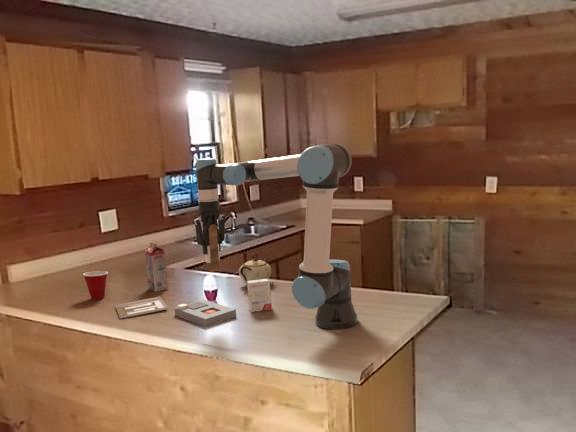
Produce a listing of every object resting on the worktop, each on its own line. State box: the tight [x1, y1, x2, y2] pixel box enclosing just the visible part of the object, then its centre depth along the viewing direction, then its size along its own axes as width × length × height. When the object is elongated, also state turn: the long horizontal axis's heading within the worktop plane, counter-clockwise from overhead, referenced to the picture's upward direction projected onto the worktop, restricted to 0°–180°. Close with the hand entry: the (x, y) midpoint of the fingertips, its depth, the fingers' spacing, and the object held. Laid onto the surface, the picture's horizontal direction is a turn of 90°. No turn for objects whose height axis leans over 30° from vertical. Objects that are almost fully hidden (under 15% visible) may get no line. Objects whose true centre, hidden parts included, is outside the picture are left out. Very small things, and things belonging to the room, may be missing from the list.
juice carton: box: [144, 242, 169, 293], centre depth 267 cm, size 7×7×22 cm
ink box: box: [246, 278, 273, 313], centre depth 227 cm, size 9×5×12 cm, turn 103°
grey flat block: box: [174, 299, 237, 328], centre depth 223 cm, size 22×14×4 cm, turn 42°
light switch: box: [115, 296, 168, 320], centre depth 238 cm, size 18×2×19 cm
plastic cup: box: [82, 270, 109, 301], centre depth 259 cm, size 11×11×12 cm
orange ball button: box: [205, 310, 216, 314], centre depth 220 cm, size 4×4×1 cm
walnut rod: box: [205, 224, 220, 273], centre depth 215 cm, size 3×3×18 cm
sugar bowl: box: [238, 252, 272, 286], centre depth 263 cm, size 20×15×15 cm
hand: (212, 261), depth 216 cm, fingers closed on walnut rod, 3 cm apart
